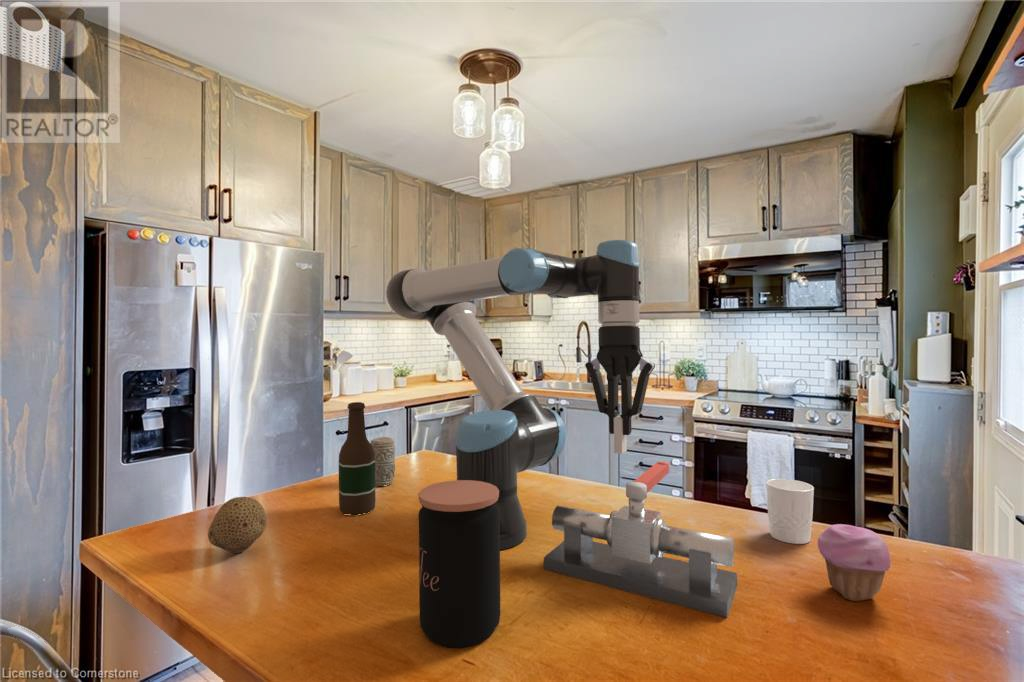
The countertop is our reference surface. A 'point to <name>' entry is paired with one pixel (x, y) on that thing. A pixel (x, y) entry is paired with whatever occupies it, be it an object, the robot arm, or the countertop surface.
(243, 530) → the natural sponge
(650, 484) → the valve lever
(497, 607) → the coffee jar
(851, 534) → the cupcake
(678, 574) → the valve stand
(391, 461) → the carving
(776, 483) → the white cup
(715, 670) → the countertop surface
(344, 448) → the beer bottle
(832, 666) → the countertop surface
